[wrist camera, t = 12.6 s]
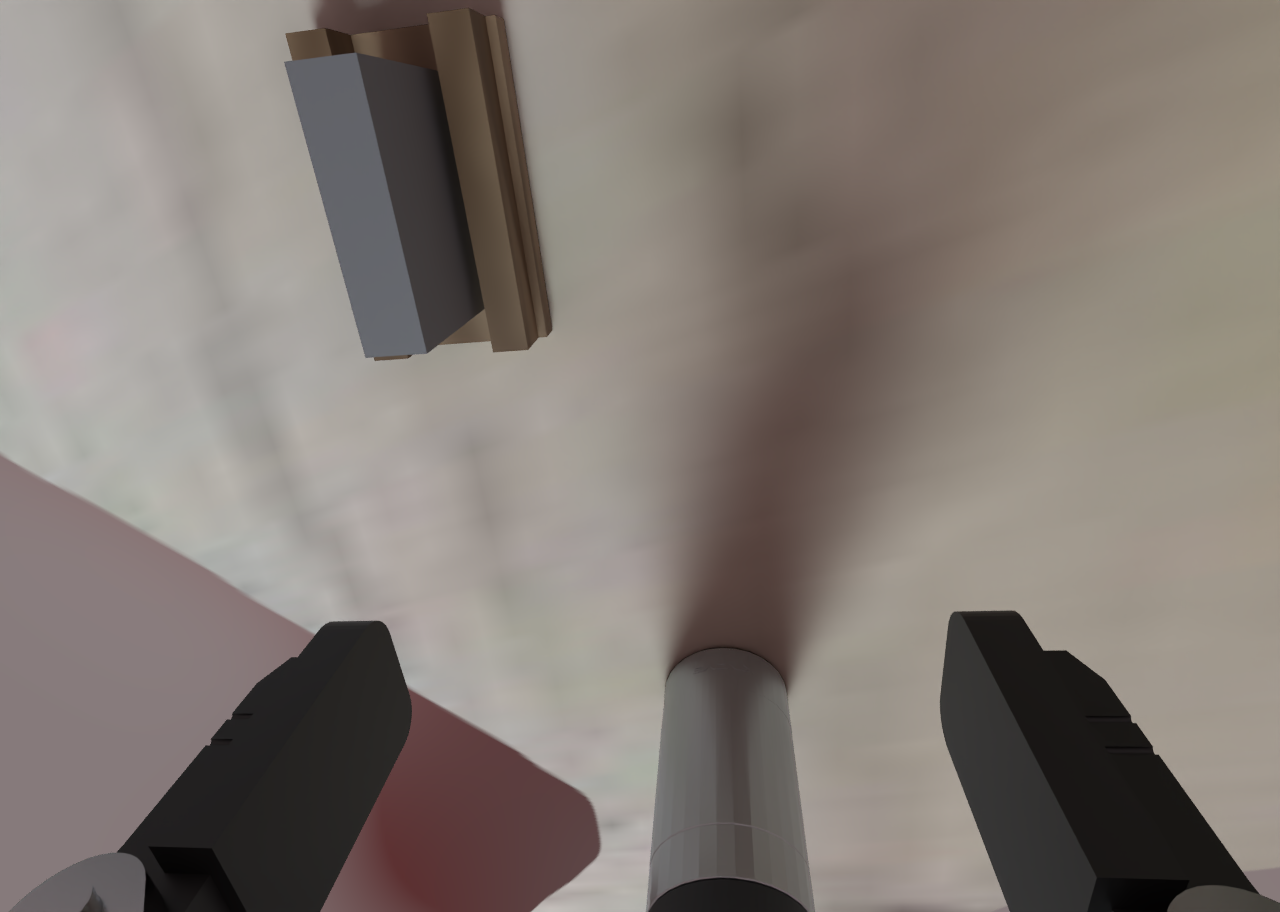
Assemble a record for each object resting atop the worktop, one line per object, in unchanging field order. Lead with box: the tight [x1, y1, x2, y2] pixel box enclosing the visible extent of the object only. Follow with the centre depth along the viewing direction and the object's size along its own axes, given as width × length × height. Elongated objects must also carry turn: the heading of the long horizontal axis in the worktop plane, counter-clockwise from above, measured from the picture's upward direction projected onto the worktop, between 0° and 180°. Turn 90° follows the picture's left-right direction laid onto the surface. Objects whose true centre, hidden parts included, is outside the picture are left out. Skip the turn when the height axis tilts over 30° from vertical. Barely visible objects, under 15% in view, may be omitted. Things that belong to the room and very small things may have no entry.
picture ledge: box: [286, 8, 552, 361], centre depth 37 cm, size 10×16×4 cm, turn 6°
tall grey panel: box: [284, 53, 485, 358], centre depth 33 cm, size 3×12×9 cm, turn 5°
